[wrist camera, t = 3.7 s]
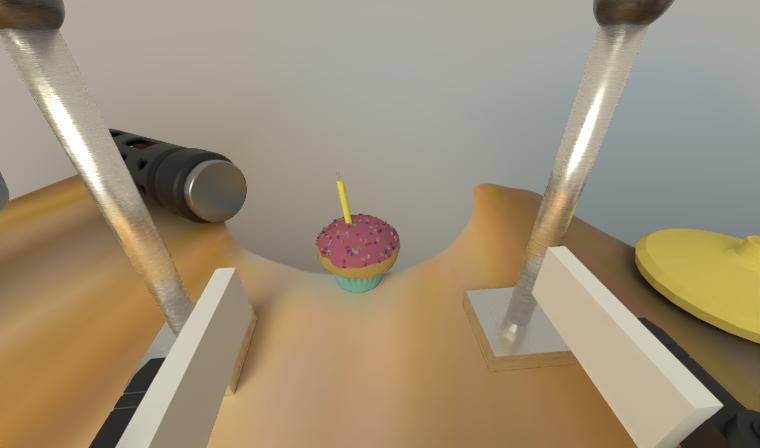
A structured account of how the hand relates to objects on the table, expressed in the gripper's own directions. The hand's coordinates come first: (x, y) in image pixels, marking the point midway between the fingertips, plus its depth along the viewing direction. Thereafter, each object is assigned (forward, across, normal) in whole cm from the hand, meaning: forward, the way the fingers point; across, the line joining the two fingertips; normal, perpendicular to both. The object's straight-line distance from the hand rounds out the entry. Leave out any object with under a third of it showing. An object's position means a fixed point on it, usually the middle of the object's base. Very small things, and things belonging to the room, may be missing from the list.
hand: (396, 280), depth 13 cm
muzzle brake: (+35, -31, -14) cm, 49 cm away
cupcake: (+16, -2, -14) cm, 21 cm away
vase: (+9, +34, -14) cm, 38 cm away
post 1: (+7, -15, -14) cm, 22 cm away
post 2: (+7, +12, -14) cm, 20 cm away
